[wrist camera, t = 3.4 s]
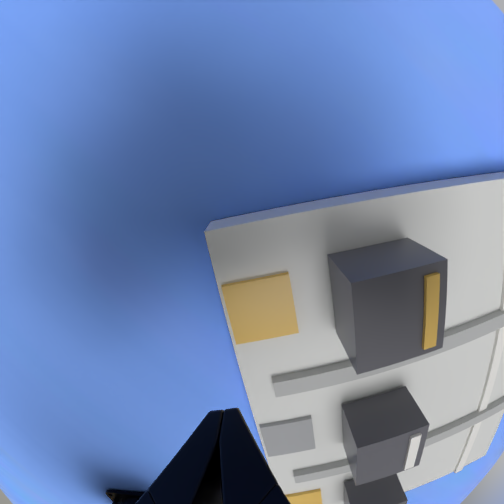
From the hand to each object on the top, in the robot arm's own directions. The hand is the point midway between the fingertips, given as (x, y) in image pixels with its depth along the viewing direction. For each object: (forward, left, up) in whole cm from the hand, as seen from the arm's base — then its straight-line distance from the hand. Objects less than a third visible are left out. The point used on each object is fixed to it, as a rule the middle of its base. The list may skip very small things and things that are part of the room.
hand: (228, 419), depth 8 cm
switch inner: (+7, -18, -7) cm, 20 cm away
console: (+10, -9, -9) cm, 16 cm away
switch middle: (+7, -9, -7) cm, 13 cm away
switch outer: (+7, 0, -7) cm, 9 cm away
